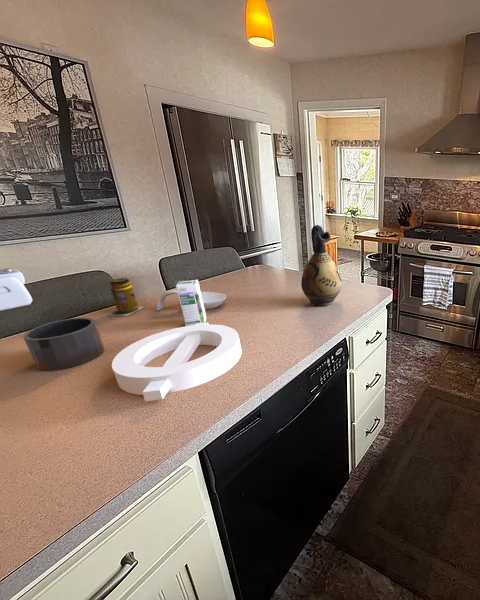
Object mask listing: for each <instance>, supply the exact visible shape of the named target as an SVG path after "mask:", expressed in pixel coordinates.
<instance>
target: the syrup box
mask: <svg viewBox="0 0 480 600" xmlns="http://www.w3.org/2000/svg"><path fill="white" fill-rule="evenodd" d="M175 289H177V293H178V295H177V297H178V302H179V305H180V308H181V312H182V316H183V320H184V325H185V326H192V325H196V323H206V321H207V313H206V309H204V304H203V300H202V295H201V292H202V291H201V288H200V282H199V279H192V280H180V281H178V282H177V283H176V285H175Z"/></svg>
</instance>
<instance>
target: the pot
mask: <svg viewBox="0 0 480 600" xmlns="http://www.w3.org/2000/svg"><path fill="white" fill-rule="evenodd" d="M98 327H99V326H98V324H97V322H96V320H95V319H94V318H92V317H73V318H66V319H60V320H56V321H52V322H48V323H44V324H41V325H39V326H37V327H34V328H32V329H30V330H28V331H26V332H25V333H24V334H23V336H22V337H23V340H24V342H25V345H26V346H27V348H28V351H29V353H30V355H31V357H32V360H33V362H34V364H35V366H36V368H37V369H38V370H40V371H43V372H57V371H62V370H67V369H70V368H75V367H79V366H82V365H84V364H87V363H89V362H92V361H93V360H95V359H97V358H99V357H100V356H102V355H103V354H104V353H105V352H106V347H105V343H104V341H103V339H102V335H101V333H100V330H99V328H98Z"/></svg>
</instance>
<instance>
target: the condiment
mask: <svg viewBox="0 0 480 600" xmlns="http://www.w3.org/2000/svg"><path fill="white" fill-rule="evenodd" d="M109 284H110V287H111V288H110V291H111V295H112V298H113V301H114V304H115V307H116V311H113V312H112V313H108V314H107V316H109V317H128V316H131V315H133V314H134V313H137V312H138V311H141V310H142V309H143V308H145V306H139V304H138V301H137V298H136V294H135V291H134V287H133V285H131V282H130V279H129V278H127V277H121V278H115V279H111V280H110V281H109Z"/></svg>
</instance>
